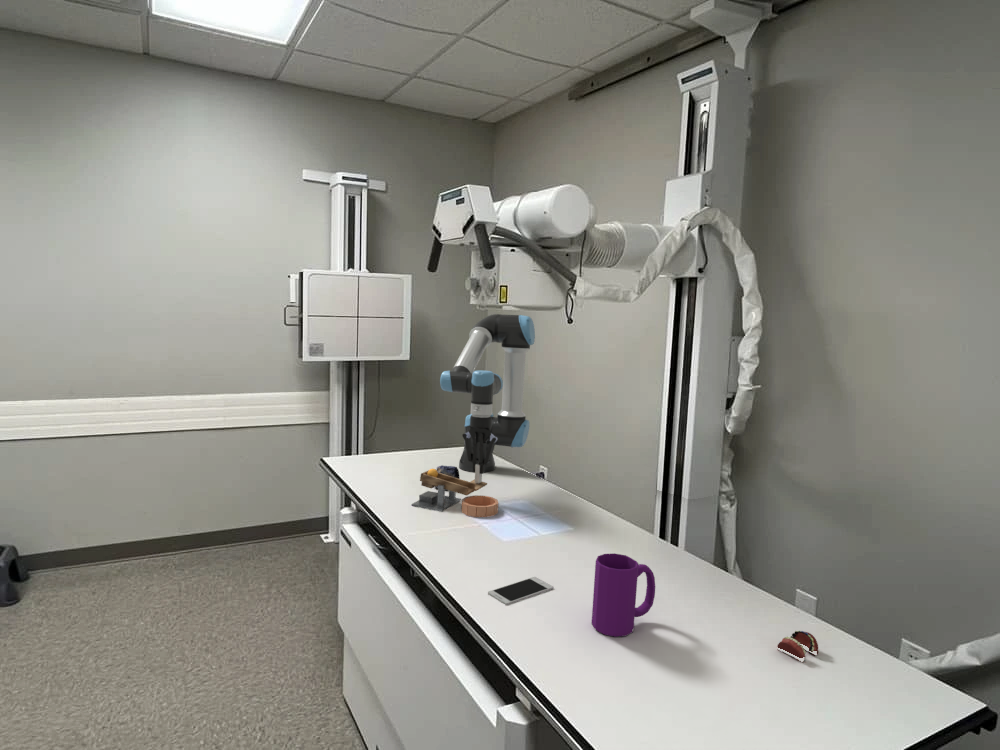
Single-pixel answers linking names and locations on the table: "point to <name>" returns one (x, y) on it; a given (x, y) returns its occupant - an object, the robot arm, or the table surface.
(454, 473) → the rock
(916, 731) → the table surface
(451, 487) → the lever
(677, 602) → the table surface
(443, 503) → the pivot base
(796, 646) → the dentures
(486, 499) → the terracotta bowl
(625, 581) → the mug
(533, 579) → the smartphone
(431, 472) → the ball
